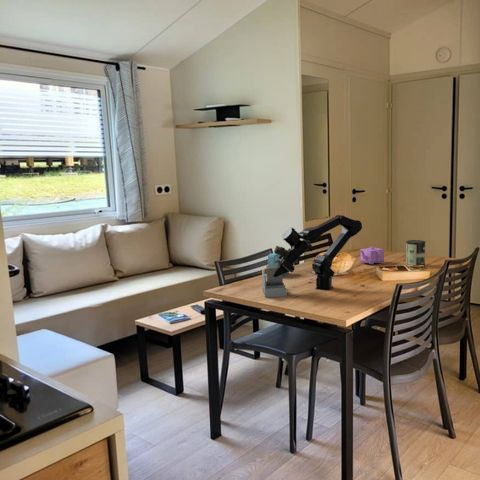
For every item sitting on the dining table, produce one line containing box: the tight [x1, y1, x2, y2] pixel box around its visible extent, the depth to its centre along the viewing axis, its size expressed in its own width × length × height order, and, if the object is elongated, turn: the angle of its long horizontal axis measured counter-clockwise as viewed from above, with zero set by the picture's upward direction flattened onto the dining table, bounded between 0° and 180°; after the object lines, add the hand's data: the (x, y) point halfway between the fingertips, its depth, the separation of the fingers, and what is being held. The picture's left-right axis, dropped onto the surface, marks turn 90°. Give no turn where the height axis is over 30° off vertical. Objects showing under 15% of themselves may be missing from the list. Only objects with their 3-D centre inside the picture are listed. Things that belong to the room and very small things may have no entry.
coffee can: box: [405, 239, 426, 266], centre depth 291 cm, size 10×10×14 cm
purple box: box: [359, 245, 385, 265], centre depth 303 cm, size 18×14×10 cm
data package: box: [267, 252, 289, 276], centre depth 281 cm, size 12×4×12 cm, turn 133°
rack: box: [261, 267, 288, 298], centre depth 241 cm, size 10×16×12 cm, turn 1°
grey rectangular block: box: [266, 264, 284, 286], centre depth 241 cm, size 7×3×12 cm, turn 92°
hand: (273, 275), depth 241 cm, fingers open, 3 cm apart
